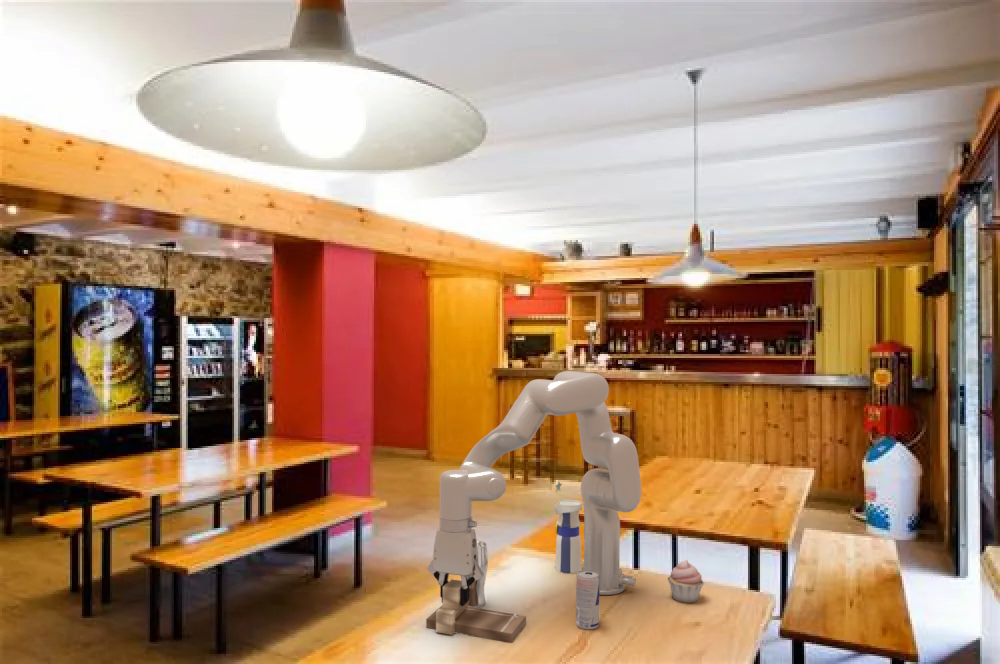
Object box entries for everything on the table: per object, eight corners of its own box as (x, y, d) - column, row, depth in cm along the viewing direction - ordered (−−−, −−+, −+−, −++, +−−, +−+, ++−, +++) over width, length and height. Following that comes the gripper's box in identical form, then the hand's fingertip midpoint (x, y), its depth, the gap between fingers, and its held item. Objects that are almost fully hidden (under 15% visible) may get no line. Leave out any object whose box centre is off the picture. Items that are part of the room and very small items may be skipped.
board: (526, 624, 158) (526, 615, 158) (511, 642, 148) (511, 633, 148) (444, 611, 165) (444, 602, 165) (426, 627, 156) (426, 618, 156)
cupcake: (704, 608, 168) (704, 568, 168) (665, 603, 171) (665, 563, 171) (704, 594, 177) (705, 556, 177) (668, 589, 180) (668, 552, 180)
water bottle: (550, 572, 193) (550, 484, 193) (557, 562, 201) (558, 478, 201) (578, 575, 190) (578, 487, 190) (585, 566, 198) (585, 481, 198)
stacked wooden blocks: (470, 616, 162) (471, 578, 162) (451, 635, 151) (452, 594, 151) (455, 613, 163) (456, 575, 163) (435, 632, 153) (436, 591, 153)
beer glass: (488, 599, 173) (489, 540, 173) (485, 610, 166) (486, 549, 166) (462, 597, 174) (462, 539, 174) (457, 608, 167) (458, 548, 167)
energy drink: (601, 622, 159) (601, 571, 159) (596, 631, 154) (597, 579, 154) (578, 619, 161) (579, 568, 161) (573, 628, 156) (574, 576, 156)
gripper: (494, 523, 158) (493, 601, 158) (430, 516, 164) (429, 591, 164) (482, 532, 151) (482, 614, 151) (416, 524, 157) (415, 603, 157)
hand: (454, 601), depth 158 cm, fingers closed on stacked wooden blocks, 4 cm apart
